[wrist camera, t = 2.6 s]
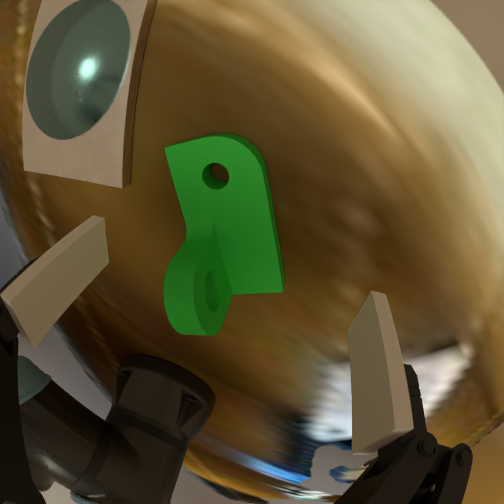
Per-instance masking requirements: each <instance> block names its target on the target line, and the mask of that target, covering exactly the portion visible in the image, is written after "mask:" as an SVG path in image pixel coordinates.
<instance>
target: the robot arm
mask: <svg viewBox="0 0 504 504" xmlns="http://www.w3.org/2000/svg"><path fill="white" fill-rule="evenodd" d="M108 263H109V257H108V249H107V240H106V230H105V219H104V218H102V217H98V216H95V215H93V216H92V217H90V218H89V219H87V220H86V221H85V222H83V223H82V224H81V225H79V226H78V227H77V228H75V229H74V230H73V231H71V232H70V233H69V234H68V235H66V236H65V237H64V238H63V239H61V240H60V241H59V242H58V243H56V244H55V245H54V246H53V247H51V248H50V249H49V250H48V251H47V252H45V253H44V254H43V255H42V256H41V257H38V258H36V259H34V260H32V261H30V262H29V263H28V264H27V265H26V266H24V267H23V269H21V270H20V271H19V272H18V273H17V275H15V276H14V277H13V278H11V280H9V281H8V282H7V283H6V284H5V285H4V286H3V287H2V288H1V289H0V504H46V502H45V500H44V498H43V496H42V494H41V493H40V492H45V491H47V490H48V489H49V488H50V487H51V485H52V484H53V482H54V481H55V482H57V483H59V484H61V485H63V486H64V487H66V488H68V489H70V490H71V492H70V493H71V498H72V500H73V501H74V502H75V503H77V504H171V502H170V500H171V497H172V494H173V491H174V488H175V485H176V481H177V478H178V475H179V472H180V469H181V466H182V463H183V460H184V457H185V453H186V450H187V447H188V445H189V443H190V441H191V440H192V439H193V438H194V436H195V435H196V434H197V433H198V431H199V430H200V429H201V427H202V426H203V425H204V424H205V422H206V421H207V420H208V418H209V417H210V415H211V413H212V410H213V407H214V404H215V397H214V395H213V393H212V391H211V390H210V389H209V388H208V387H207V386H206V385H205V384H204V383H203V382H202V381H200V380H199V379H198V378H196V377H195V376H193V375H192V374H190V373H189V372H187V371H185V370H183V369H181V368H179V367H177V366H175V365H173V364H171V363H168V362H166V361H163V360H160V359H157V358H153V357H149V356H143V355H132V356H128V357H126V358H125V359H124V360H123V361H122V363H121V365H120V367H119V368H118V370H117V373H116V379H115V385H114V392H113V400H112V407H111V410H110V412H109V414H108V416H107V418H106V420H103V419H101V418H100V417H99V416H97V415H96V414H95V413H93V412H92V411H90V410H89V409H87V408H86V407H85V406H83V405H82V404H81V403H80V402H78V401H77V400H75V398H73V397H72V396H71V395H70V394H68V393H67V392H66V391H65V390H63V389H62V388H61V387H60V386H59V385H57V384H56V383H55V382H54V381H53V380H52V379H51V377H50V375H48V374H45V373H44V372H43V371H41V370H40V369H39V368H38V367H37V366H36V365H35V364H33V363H32V362H31V361H30V360H29V359H28V358H26V357H24V356H18V337H17V334H18V333H19V332H20V334H21V336H22V337H23V339H24V341H25V342H27V343H28V344H30V345H31V346H32V347H33V348H35V347H36V346H37V345H38V344H39V342H40V341H41V340H42V339H43V337H44V336H45V335H46V333H47V332H48V331H49V330H50V328H51V327H52V326H53V325H54V324H55V322H56V321H57V320H58V319H59V318H60V316H61V315H62V314H63V313H64V312H65V310H66V309H67V308H68V307H69V306H70V305H71V304H72V302H73V301H74V300H75V299H76V298H77V297H78V296H79V294H80V293H81V292H82V291H83V290H84V289H85V288H86V287H87V286H88V285H89V283H90V282H91V281H92V280H93V279H94V278H95V277H96V276H97V275H98V274H99V273H100V272H101V271H102V270H103V269H104V268H105V267H106V265H107V264H108ZM348 341H349V354H350V369H351V390H352V455H370V454H372V453H373V452H375V451H377V450H378V457H376V458H374V459H372V460H370V461H368V462H366V463H365V464H364V465H363V466H367V465H369V464H370V465H369V466H368V467H367V468H366V470H365V471H364V472H363V473H362V474H361V475H360V477H359V478H358V479H357V480H356V481H355V482H354V483H353V484H352V485H351V487H350V488H349V489H348V490H347V491H346V492H345V493H344V494H343V495H342V496H341V497H340V498H339V499H338V500H337V501H336V502H335V503H334V504H461V503H462V500H463V497H464V493H465V490H466V486H467V483H468V479H469V474H470V470H471V465H472V459H473V455H472V451H471V449H470V447H469V446H468V445H467V444H464V443H461V444H458V445H456V446H455V447H453V448H450V447H446V446H443V445H439V444H438V443H437V440H436V438H435V437H434V436H433V435H432V434H431V433H429V432H427V429H426V423H425V416H424V410H423V404H422V398H420V396H421V393H420V389H419V383H418V378H417V375H416V373H415V371H414V369H413V368H412V366H411V365H407V364H403V360H402V355H401V351H400V346H399V342H398V338H397V334H396V330H395V326H394V322H393V318H392V315H391V311H390V307H389V304H388V300H387V297H386V294H383V293H379V292H375V291H371V293H370V294H369V296H368V298H367V300H366V301H365V303H364V305H363V306H362V308H361V310H360V311H359V313H358V315H357V316H356V318H355V320H354V321H353V323H352V324H351V326H350V328H349V329H348ZM434 485H435V488H434V490H433V487H434Z"/></svg>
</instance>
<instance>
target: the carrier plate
mask: <svg viewBox="0 0 504 504" xmlns="http://www.w3.org/2000/svg"><path fill="white" fill-rule="evenodd" d="M156 1H157V0H42V3H41V6H40V9H39V13H38V16H37V20H36V24H35V28H34V32H33V36H32V41H31V46H30V51H29V57H28V63H27V70H26V78H25V87H24V100H23V158H24V170H25V171H31V172H37V173H43V174H49V175H55V176H60V177H66V178H71V179H77V180H82V181H87V182H93V183H98V184H103V185H108V186H113V187H118V188H124V187H125V186H127V185H129V184H130V174H131V152H132V137H133V126H134V115H135V107H136V98H137V91H138V84H139V78H140V72H141V66H142V60H143V55H144V50H145V45H146V41H147V36H148V32H149V28H150V23H151V20H152V16H153V12H154V8H155V5H156Z"/></svg>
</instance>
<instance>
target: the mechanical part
mask: <svg viewBox="0 0 504 504" xmlns="http://www.w3.org/2000/svg"><path fill="white" fill-rule="evenodd" d="M164 149H165V153H166V157H167V161H168V164H169V168H170V171H171V175H172V179H173V182H174V186H175V189H176V193H177V196H178V199H179V203H180V206H181V209H182V213H183V216H184V219H185V223H186V239H185V242H184V244H183V245H182V246H181V248H180V249H179V250H178V252H177V253H176V254H175V256H174V257H173V258H172V260H171V261H170V263H169V265H168V268H167V270H166V274H165V279H164V304H165V310H166V313H167V317H168V319H169V322H170V323H171V325H172V327H173V328H174V329H175V330H176V331H177V332H178V333H180V334H184V335H209V336H213V335H216V334H217V333H218V332H219V331H220V329H221V327H222V325H223V322H224V319H225V316H226V314H227V311H228V308H229V305H230V302H231V299H232V296H233V295H237V294H260V293H278V292H283V291H284V282H285V275H284V269H283V263H282V256H281V250H280V244H279V238H278V232H277V226H276V220H275V214H274V208H273V202H272V197H271V191H270V185H269V180H268V174H267V169H266V165H265V162H264V159H263V157H262V155H261V154H260V152H259V151H258V149H257V148H256V147H255V146H254V145H253V144H252V143H251V142H249V141H248V140H246V139H245V138H243V137H240V136H238V135H235V134H230V133H217V134H212V135H208V136H203V137H199V138H195V139H191V140H187V141H183V142H179V143H176V144H173V145H171V146H168V147H166V148H164ZM212 163H219V164H222V165H223V166H224V167H225V168H226V169H227V170H228V173H229V181H226V182H221V181H218V180H216V179H215V178H214V177H213V176H212V174H211V170H210V168H211V164H212Z"/></svg>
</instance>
